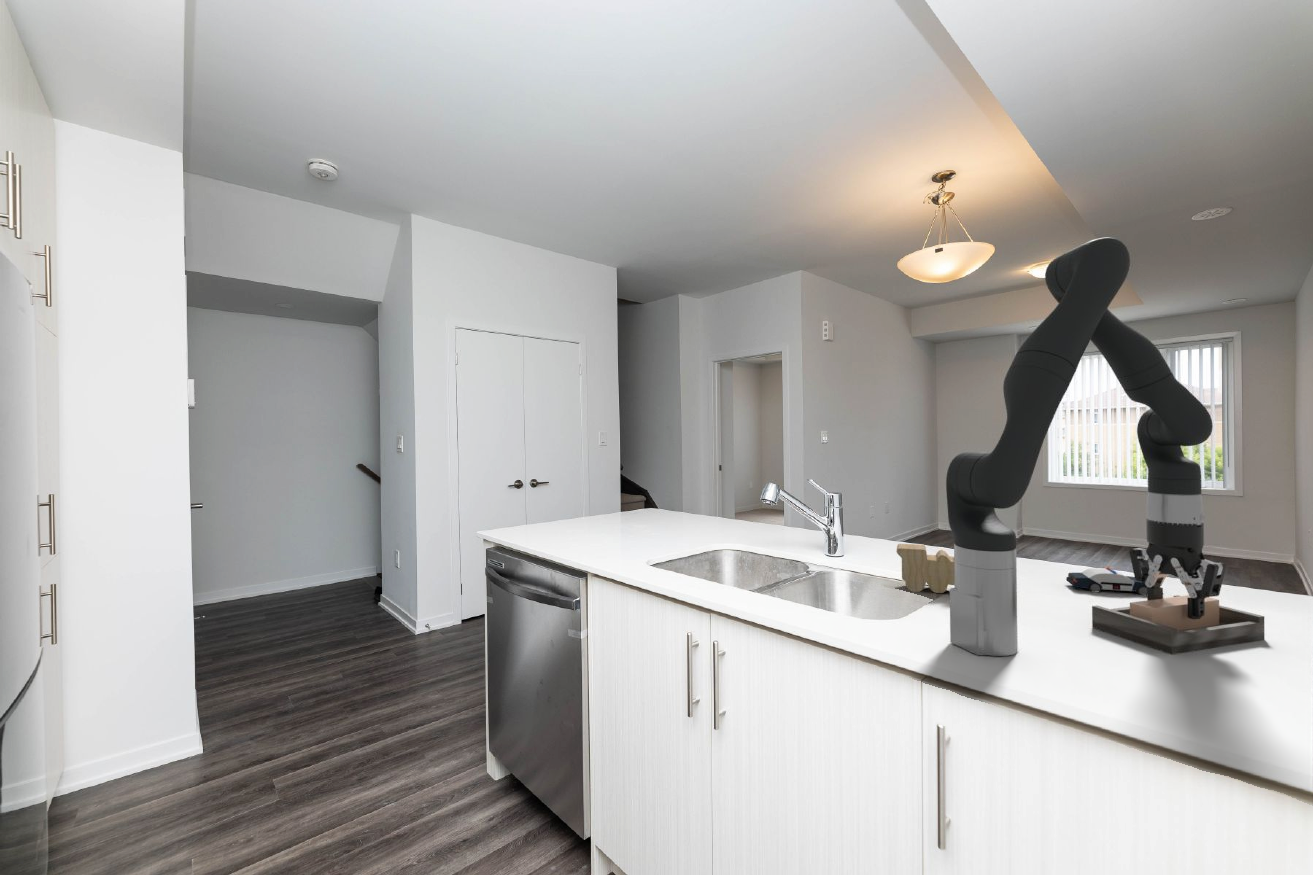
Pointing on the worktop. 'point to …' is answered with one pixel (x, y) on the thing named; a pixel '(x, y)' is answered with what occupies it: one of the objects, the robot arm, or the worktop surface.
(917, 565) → the toy train
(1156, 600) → the tan rectangular block
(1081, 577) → the toy car
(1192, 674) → the worktop surface
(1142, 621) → the charcoal tray
